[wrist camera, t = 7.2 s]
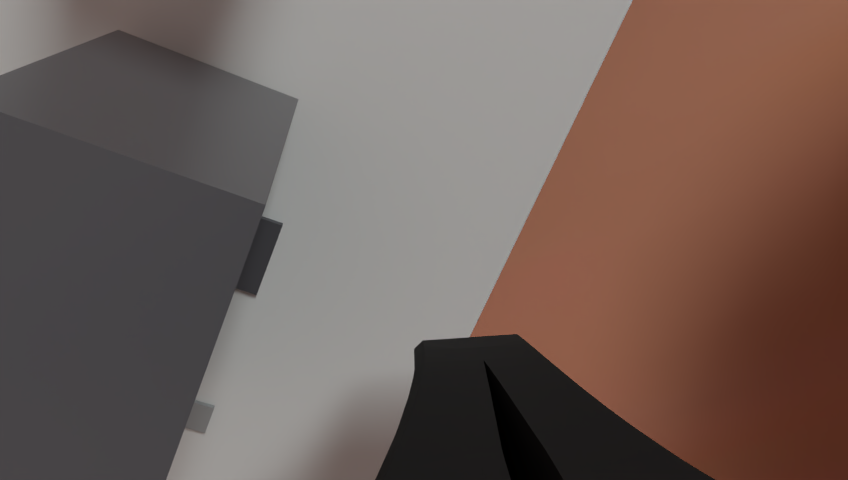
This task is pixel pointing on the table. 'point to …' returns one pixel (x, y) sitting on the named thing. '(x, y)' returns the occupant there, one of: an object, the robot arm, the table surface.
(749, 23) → the table surface
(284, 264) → the mixer plate
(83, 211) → the fader
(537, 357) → the robot arm
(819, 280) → the table surface
